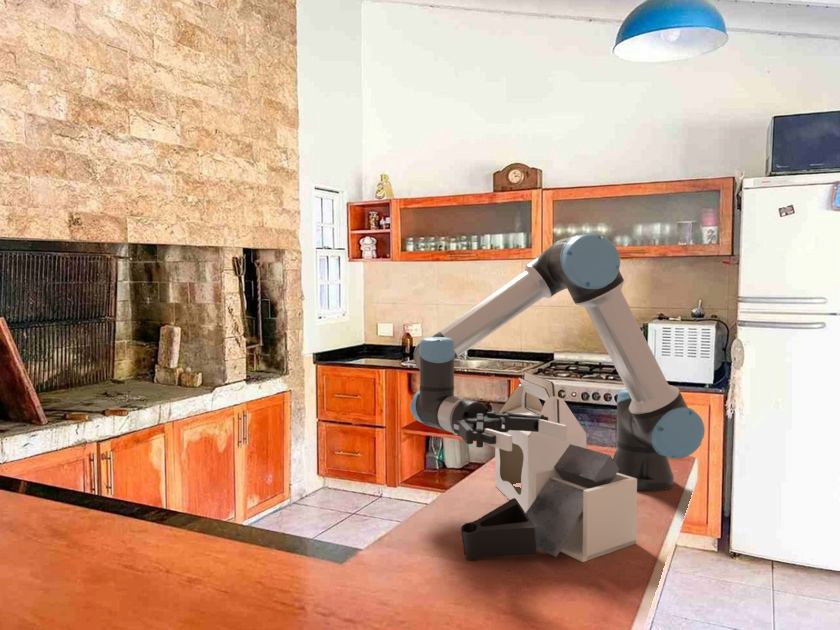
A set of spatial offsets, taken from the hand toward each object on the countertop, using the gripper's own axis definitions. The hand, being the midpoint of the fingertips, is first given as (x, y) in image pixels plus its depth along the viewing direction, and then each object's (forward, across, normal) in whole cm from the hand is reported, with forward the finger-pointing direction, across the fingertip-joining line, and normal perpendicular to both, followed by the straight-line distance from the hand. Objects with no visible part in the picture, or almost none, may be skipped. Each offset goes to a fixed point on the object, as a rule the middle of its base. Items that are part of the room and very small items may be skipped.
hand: (539, 438), depth 117 cm
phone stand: (-2, +1, -16) cm, 16 cm away
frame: (-1, -12, -22) cm, 25 cm away
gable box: (-23, -22, -22) cm, 39 cm away
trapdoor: (-1, -9, -14) cm, 17 cm away
